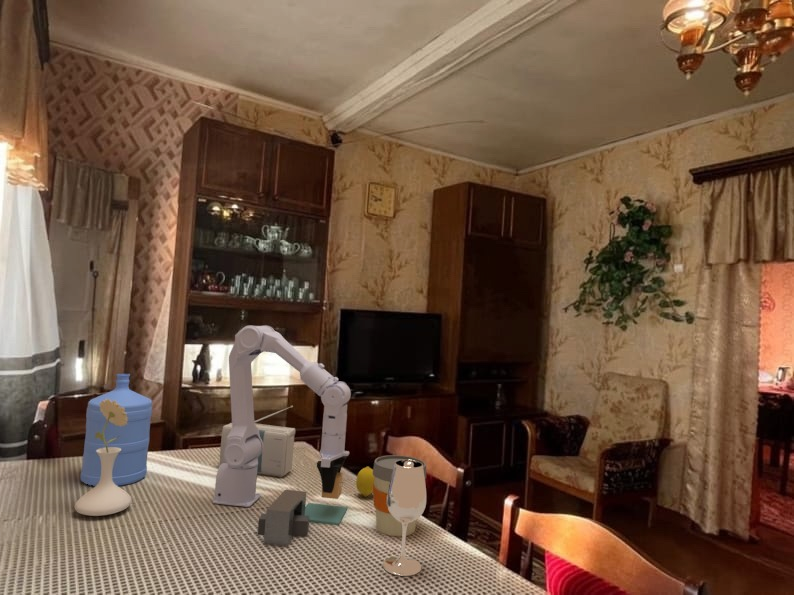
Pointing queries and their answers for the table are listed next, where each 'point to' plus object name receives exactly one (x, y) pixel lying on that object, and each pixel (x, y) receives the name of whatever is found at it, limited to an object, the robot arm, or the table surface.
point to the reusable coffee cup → (380, 489)
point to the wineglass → (405, 509)
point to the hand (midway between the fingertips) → (329, 489)
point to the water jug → (130, 440)
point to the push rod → (298, 525)
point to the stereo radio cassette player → (269, 448)
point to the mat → (325, 513)
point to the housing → (283, 517)
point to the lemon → (365, 481)
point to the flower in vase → (106, 472)
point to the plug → (335, 488)
